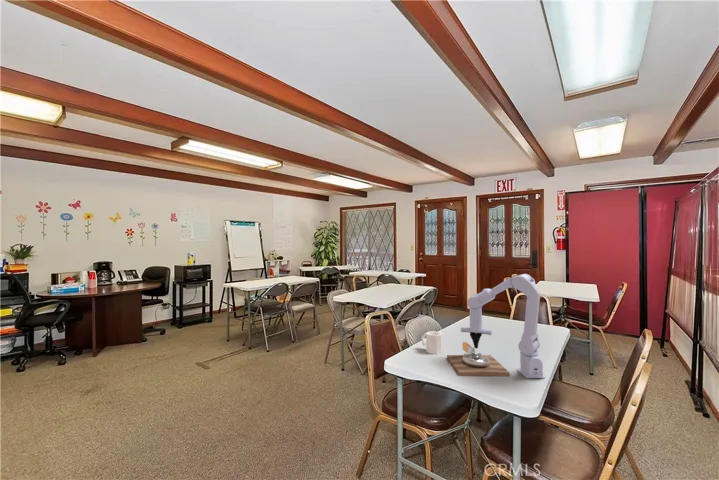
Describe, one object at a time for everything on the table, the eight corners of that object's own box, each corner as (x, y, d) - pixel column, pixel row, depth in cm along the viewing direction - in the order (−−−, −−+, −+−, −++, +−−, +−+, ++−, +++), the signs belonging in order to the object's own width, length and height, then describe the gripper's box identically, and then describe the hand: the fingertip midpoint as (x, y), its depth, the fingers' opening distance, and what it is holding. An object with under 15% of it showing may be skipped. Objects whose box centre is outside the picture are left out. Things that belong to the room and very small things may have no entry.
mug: (445, 351, 173) (444, 333, 174) (437, 355, 167) (436, 336, 167) (425, 346, 182) (425, 329, 182) (417, 350, 175) (417, 332, 175)
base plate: (509, 376, 141) (509, 372, 141) (459, 375, 141) (459, 371, 141) (490, 357, 163) (490, 354, 163) (446, 357, 164) (446, 354, 164)
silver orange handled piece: (494, 366, 146) (494, 354, 146) (469, 367, 145) (469, 355, 145) (475, 352, 166) (475, 341, 166) (453, 353, 165) (452, 342, 165)
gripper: (492, 320, 161) (492, 347, 161) (462, 317, 167) (462, 343, 167) (490, 323, 155) (491, 351, 154) (459, 320, 161) (460, 347, 161)
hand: (476, 347), depth 160 cm, fingers closed
